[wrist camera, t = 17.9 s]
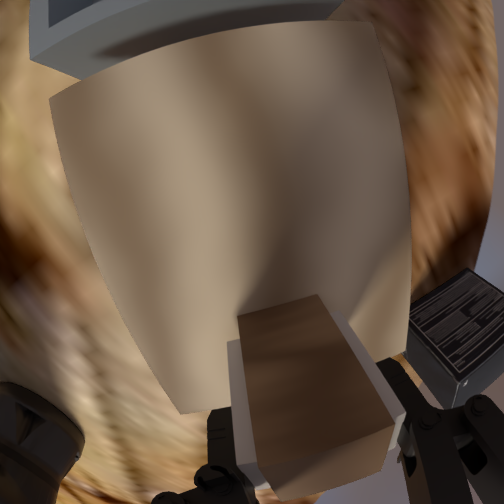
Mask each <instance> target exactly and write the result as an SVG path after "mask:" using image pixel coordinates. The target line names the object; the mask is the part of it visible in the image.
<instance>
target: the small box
mask: <svg viewBox="0 0 504 504" xmlns="http://www.w3.org/2000/svg"><path fill="white" fill-rule="evenodd" d="M401 354H402V355H403V356H404V357H405V359H406V360H407V361H408V362H409V364H410V365H411V366H412V368H413V369H414V370H415V371H416V373H417V374H418V375H419V377H420V378H421V379H422V380H423V382H424V383H425V385H426V386H427V387H428V388H429V390H430V391H431V392H432V394H433V395H434V396H435V398H436V399H437V401H438V402H439V403H440V404H441V406H442V407H443V408H444V410H445V409H451V408H455V407H459V406H462V405H465V403H466V401H467V400H468V399H469V398H470V397H472V396H474V395H477V394H480V393H481V392H482V391H483V390H485V389H486V388H487V387H488V386H489V385H490V384H492V383H493V382H494V381H495V380H496V379H497V378H498V377H499V376H500V375H501V374H502V373H503V372H504V293H503V292H502V291H501V290H499V289H498V288H496V287H495V286H494V285H492V284H491V283H489V282H487V281H486V280H485V279H483V278H482V277H480V276H479V275H477V274H476V273H475V272H473V271H471V270H470V269H469V268H466V269H465V270H463V271H462V272H460V273H459V274H457V275H456V276H454V277H453V278H452V279H450V280H449V281H447V282H446V283H444V284H443V285H441V286H440V287H438V288H437V289H435V290H433V291H432V292H430V293H429V294H427V295H426V296H424V297H422V298H421V299H419V300H418V301H416V302H414V303H413V304H411V305H410V310H409V322H408V332H407V341H406V349H405V351H404V352H402V353H401Z"/></svg>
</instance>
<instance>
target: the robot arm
mask: <svg viewBox="0 0 504 504" xmlns="http://www.w3.org/2000/svg"><path fill="white" fill-rule="evenodd" d="M330 315H331V316H332V318H333V320H334V321H335V323H336V324H337V326H338V328H339V329H340V331H341V333H342V334H343V336H344V337H345V339H346V341H347V342H348V344H349V346H350V347H351V349H352V351H353V352H354V354H355V355H356V357H357V359H358V360H359V362H360V364H361V365H362V367H363V369H364V370H365V372H366V374H367V375H368V377H369V379H370V381H371V382H372V384H373V386H374V387H375V389H376V391H377V392H378V394H379V396H380V398H381V399H382V401H383V403H384V404H385V406H386V408H387V410H388V411H389V413H390V415H391V417H392V418H393V420H394V422H395V427H394V431H393V434H392V438H391V441H390V445H389V448H388V450H391V449H393V448H395V447H396V444H397V442H398V444H399V446H400V447H401V451H400V453H399V456H398V458H397V463H400V461H402V466H403V471H404V475H405V480H406V485H407V491H408V496H409V501H410V504H474V503H473V499H472V495H471V492H470V488H469V485H468V481H467V479H468V480H469V482H470V484H471V485H472V487H473V488H474V490H475V491H476V493H477V495H478V496H479V498H480V500H481V501H482V503H483V504H504V414H503V412H502V411H501V410H500V409H499V408H498V407H497V406H496V404H495V403H494V402H493V401H492V400H491V399H490V398H489V397H487V396H486V395H482V394H477V395H474V396H472V397H470V398H469V399H468V400H467V401H466V403H465V405H462V406H459V407H455V408H451V409H445V410H442V409H437V408H435V407H433V406H431V405H430V404H429V403H428V402H427V401H426V399H425V398H424V396H423V395H422V393H421V392H420V391H419V389H418V388H417V386H416V385H415V384H414V382H413V381H412V379H410V377H409V375H408V374H407V373H406V372H405V370H404V368H403V367H402V366H401V364H400V363H399V362H397V361H396V360H394V359H392V358H390V357H388V358H386V359H384V360H381V361H379V362H376V363H375V362H374V361H373V359H372V358H371V356H370V355H369V353H368V352H367V350H366V349H365V347H364V346H363V344H362V343H361V341H360V340H359V338H358V337H357V335H356V334H355V332H354V331H353V329H352V328H351V326H350V325H349V323H348V322H347V320H346V319H345V317H344V316H343V315H342V313H341V312H340V310H338V311H335V312H332V313H330ZM227 356H228V370H229V384H230V397H231V406H230V407H224V408H219V409H213V410H212V411H211V413H210V415H209V417H208V419H207V431H208V433H207V439H208V441H207V446H208V464H206V465H204V466H202V467H201V468H200V469H199V470H197V472H196V474H195V476H194V484H195V485H196V486H197V487H196V488H194V489H192V490H189V491H186V492H183V493H180V494H177V493H175V492H169V491H168V492H162V493H160V494H158V495H156V496H155V497H154V498H153V500H152V502H151V504H259V501H258V500H257V498H256V497H255V490H254V488H255V489H256V490H261V489H267V488H271V487H270V485H269V484H268V482H267V481H266V479H265V478H264V476H263V475H262V473H261V471H260V470H259V468H258V464H257V458H256V451H255V445H254V438H253V431H252V425H251V418H250V411H249V404H248V396H247V389H246V382H245V374H244V367H243V359H242V351H241V344H240V339H236V340H232V341H228V342H227ZM84 444H85V442H84V438H83V436H82V434H81V432H80V431H79V430H78V428H77V427H76V426H75V425H74V424H73V423H72V422H71V421H70V420H69V419H68V418H67V417H66V416H65V415H64V414H63V413H62V412H60V411H59V410H58V409H57V408H55V407H54V406H53V405H51V404H50V403H48V402H47V401H46V400H44V399H43V398H41V397H39V396H38V395H36V394H34V393H33V392H31V391H29V390H27V389H25V388H23V387H21V386H18V385H15V384H12V383H0V504H56V499H57V495H58V490H59V486H60V483H61V481H62V479H63V478H64V477H65V476H66V474H67V473H68V472H69V471H70V469H71V468H72V467H73V465H74V464H75V462H76V461H78V460H79V458H80V457H81V455H82V451H83V448H84Z"/></svg>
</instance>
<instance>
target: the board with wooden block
mask: <svg viewBox="0 0 504 504" xmlns="http://www.w3.org/2000/svg"><path fill="white" fill-rule="evenodd" d="M49 102H50V108H51V114H52V119H53V124H54V129H55V134H56V138H57V143H58V147H59V151H60V155H61V159H62V163H63V167H64V171H65V174H66V178H67V181H68V185H69V188H70V191H71V195H72V198H73V201H74V204H75V207H76V210H77V213H78V216H79V219H80V222H81V224H82V227H83V230H84V233H85V235H86V238H87V241H88V243H89V246H90V248H91V251H92V253H93V256H94V258H95V261H96V263H97V265H98V268H99V270H100V272H101V275H102V277H103V279H104V281H105V284H106V286H107V288H108V290H109V292H110V294H111V296H112V299H113V301H114V303H115V305H116V307H117V309H118V311H119V313H120V315H121V317H122V319H123V321H124V323H125V324H126V326H127V328H128V330H129V332H130V334H131V336H132V338H133V339H134V341H135V343H136V345H137V347H138V348H139V350H140V352H141V354H142V355H143V357H144V359H145V360H146V362H147V364H148V365H149V367H150V369H151V370H152V372H153V374H154V375H155V377H156V378H157V380H158V382H159V383H160V385H161V386H162V388H163V389H164V391H165V392H166V394H167V395H168V397H169V398H170V400H171V401H172V403H173V404H174V406H175V407H176V409H177V410H178V411H179V413H180V414H188V413H195V412H202V411H208V410H213V409H219V408H224V407H230V406H231V397H230V384H229V370H228V356H227V342H228V341H232V340H236V339H240V344H241V351H242V359H243V367H244V374H245V382H246V389H247V396H248V404H249V411H250V418H251V425H252V431H253V438H254V445H255V451H256V458H257V464H258V468H259V470H260V471H261V473H262V475H263V476H264V478H265V479H266V481H267V482H268V484H269V485H270V487H271V488H272V490H273V491H274V493H275V494H276V495H277V497H278V498H279V500H280V501H281V502H283V501H288V500H292V499H296V498H301V497H305V496H308V495H312V494H316V493H319V492H323V491H326V490H330V489H333V488H336V487H339V486H342V485H345V484H348V483H351V482H354V481H356V480H359V479H361V478H364V477H367V476H369V475H372V474H374V473H376V472H379V471H381V469H382V466H383V463H384V460H385V457H386V454H387V451H388V448H389V445H390V441H391V438H392V434H393V431H394V427H395V422H394V420H393V418H392V417H391V415H390V413H389V411H388V410H387V408H386V406H385V404H384V403H383V401H382V399H381V398H380V396H379V394H378V392H377V391H376V389H375V387H374V386H373V384H372V382H371V381H370V379H369V377H368V375H367V374H366V372H365V370H364V369H363V367H362V365H361V364H360V362H359V360H358V359H357V357H356V355H355V354H354V352H353V351H352V349H351V347H350V346H349V344H348V342H347V341H346V339H345V337H344V336H343V334H342V333H341V331H340V329H339V328H338V326H337V324H336V323H335V321H334V320H333V318H332V316H331V315H330V313H332V312H335V311H338V310H340V312H341V313H342V315H343V316H344V317H345V319H346V320H347V322H348V323H349V325H350V326H351V328H352V329H353V331H354V332H355V334H356V335H357V337H358V338H359V340H360V341H361V343H362V344H363V346H364V347H365V349H366V350H367V352H368V353H369V355H370V356H371V358H372V359H373V361H374V362H375V363H376V362H379V361H381V360H384V359H386V358H388V357H393V356H395V355H397V354H400V353H402V352H404V351H405V349H406V341H407V332H408V322H409V310H410V295H411V264H412V246H411V216H410V200H409V188H408V178H407V169H406V161H405V154H404V147H403V140H402V134H401V129H400V123H399V118H398V113H397V108H396V103H395V99H394V95H393V90H392V86H391V82H390V78H389V74H388V71H387V67H386V64H385V60H384V57H383V53H382V50H381V47H380V44H379V41H378V38H377V35H376V32H375V29H374V26H373V24H372V22H364V21H338V20H324V21H298V22H284V23H274V24H265V25H258V26H251V27H244V28H238V29H233V30H227V31H222V32H217V33H213V34H208V35H204V36H200V37H196V38H192V39H188V40H185V41H181V42H178V43H174V44H171V45H168V46H164V47H161V48H158V49H155V50H152V51H149V52H146V53H144V54H141V55H138V56H136V57H133V58H130V59H128V60H125V61H123V62H120V63H118V64H116V65H113V66H111V67H109V68H106V69H104V70H102V71H100V72H98V73H96V74H93V75H91V76H89V77H87V78H85V79H83V80H81V81H79V82H77V83H75V84H74V85H72V86H70V87H68V88H66V89H64V90H63V91H61V92H59V93H57V94H56V95H54V96H52V97H50V98H49Z"/></svg>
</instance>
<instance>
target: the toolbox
mask: <svg viewBox="0 0 504 504" xmlns="http://www.w3.org/2000/svg"><path fill="white" fill-rule="evenodd" d="M343 1H344V0H30V12H29V50H30V60H32V61H34V62H37V63H40V64H42V65H45V66H48V67H50V68H53V69H55V70H58V71H60V72H63V73H65V74H68V75H70V76H73V77H75V78H77V79H80V80H83V79H85V78H87V77H89V76H91V75H93V74H96V73H98V72H100V71H102V70H104V69H106V68H109V67H111V66H113V65H116V64H118V63H120V62H123V61H125V60H128V59H130V58H133V57H136V56H138V55H141V54H144V53H146V52H149V51H152V50H155V49H158V48H161V47H164V46H168V45H171V44H174V43H178V42H181V41H185V40H188V39H192V38H196V37H200V36H204V35H208V34H213V33H217V32H222V31H227V30H233V29H238V28H244V27H251V26H258V25H265V24H274V23H284V22H298V21H324V20H325V19H326V18H327V17H328V16H329V15H330V14H331V13H332V12H333V11H334V10H335V9H336V8H337V7H338V6H339V5H340V4H341V3H342V2H343Z"/></svg>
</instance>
